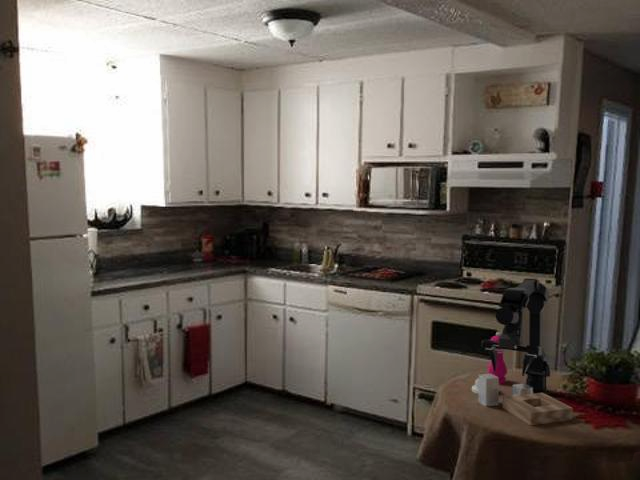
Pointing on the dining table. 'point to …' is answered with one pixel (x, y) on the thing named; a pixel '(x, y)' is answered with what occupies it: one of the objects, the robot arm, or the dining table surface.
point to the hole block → (537, 408)
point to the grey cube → (521, 389)
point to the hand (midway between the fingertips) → (508, 373)
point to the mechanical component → (476, 387)
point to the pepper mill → (498, 363)
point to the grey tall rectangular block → (488, 389)
